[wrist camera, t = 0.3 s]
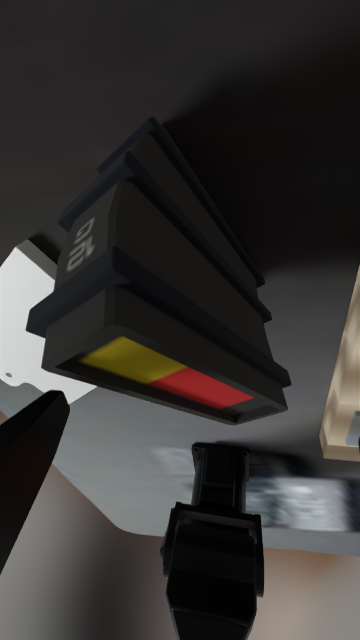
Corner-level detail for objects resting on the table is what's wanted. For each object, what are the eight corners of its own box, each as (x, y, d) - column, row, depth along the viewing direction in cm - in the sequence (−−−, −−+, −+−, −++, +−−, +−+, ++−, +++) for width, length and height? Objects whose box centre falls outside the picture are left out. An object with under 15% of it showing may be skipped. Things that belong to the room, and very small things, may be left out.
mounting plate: (61, 401, 36) (52, 414, 34) (-41, 329, 32) (-55, 341, 30) (168, 330, 27) (163, 344, 25) (46, 216, 22) (32, 224, 21)
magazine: (118, 54, 15) (112, 308, 6) (246, 221, 24) (312, 415, 15) (70, 111, 16) (16, 368, 8) (206, 247, 25) (246, 432, 17)
